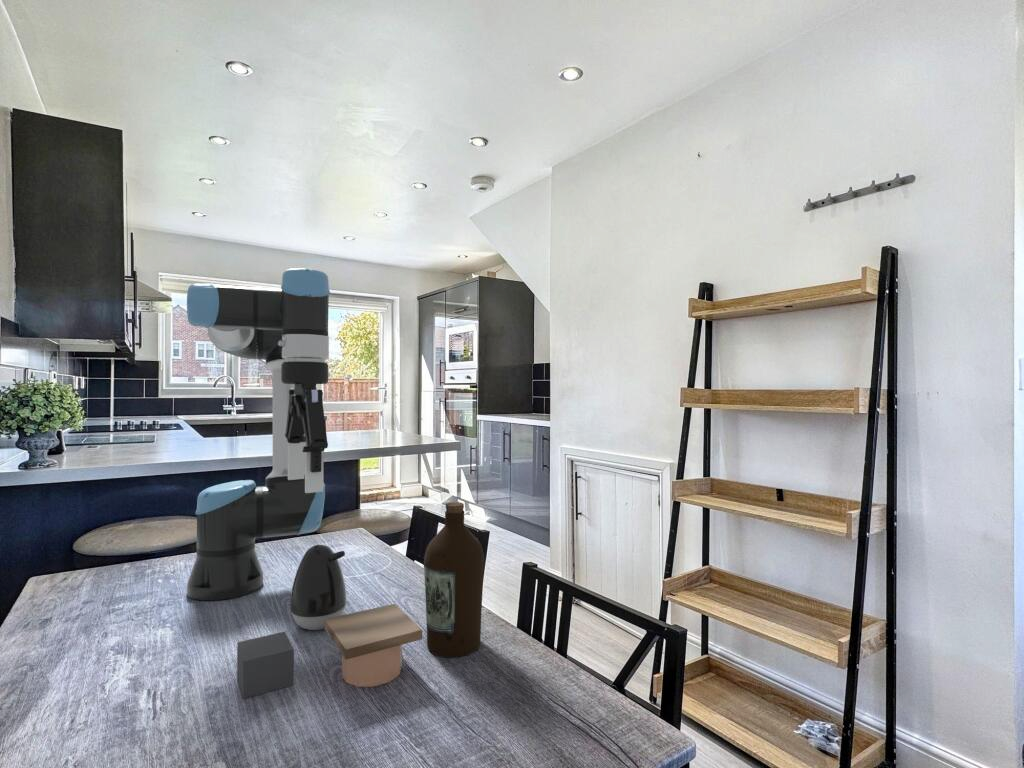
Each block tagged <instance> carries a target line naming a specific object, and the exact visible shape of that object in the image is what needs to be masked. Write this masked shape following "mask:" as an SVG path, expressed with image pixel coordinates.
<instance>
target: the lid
mask: <svg viewBox="0 0 1024 768" xmlns="http://www.w3.org/2000/svg"><path fill="white" fill-rule="evenodd" d="M324 630H325V631H326V633H327V634H328V636H329V637H330V638H331V640H332V642H333V643H334V645H335V646H336V648H337V650H339V652H340V653H341V655H343V656H344V658H345V659H346V660H347V659H350V658H354V657H358V656H362V655H365V654H369V653H373V652H377V651H380V650H384V649H388V648H391V647H395V646H399V645H402V646H403V645H406V644H409V643H414V642H418V641H420V640H423V629H422V628H421V627H420V626H419V625H418V624H417V622H415V621H414V620H413V619H411V618H410V617H409V616H408V614H406V613H405V611H403V610H402V609H401V608H400V607H399V606H398V605H397V604H395V603H392V604H388V605H387V604H386V605H382V606H378V607H374V608H370V609H364V610H359V611H355V612H351V613H347V614H342V615H341V616H337V617H333V618H328V619H325V629H324Z"/></svg>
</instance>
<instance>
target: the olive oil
mask: <svg viewBox="0 0 1024 768" xmlns="http://www.w3.org/2000/svg"><path fill="white" fill-rule="evenodd" d="M464 505H465V504H464V503H463V502H459V501H453V502H452V501H451V502H447V503H446V504H445V511H444V518H445V519H444V522H445V524H444V526H443V527H442V528H441V530H440V531H439V532H438V533H437V534H435V536H434V537H433V538H431V540H430V541H429V543H428V545H427V547H426V549H425V553H424V556H423V557H424V558H423V570H424V572H423V573H424V588H425V589H424V590H425V595H424V596H425V613H426V615H425V616H426V618H425V619H426V646H427V647H426V648H427V649H428V651H430V652H431V653H432V654H434V655H436V656H439V657H445V658H459V657H465V656H468V655H470V654H472V653H474V652H476V651H477V650H479V648H480V646H481V638H482V637H481V636H482V634H481V633H482V611H483V610H482V607H483V605H482V604H483V589H484V574H485V573H484V572H485V553H484V552H485V551H484V550H483V549H484V548H483V546H482V543H481V542H480V541H479V539H478V538H477V537H476V536H475V535H474V534H473V533H472V532H471V530H469V529H468V527H467V526H466V525H465V511H464V507H465V506H464Z"/></svg>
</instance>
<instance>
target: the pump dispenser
mask: <svg viewBox="0 0 1024 768" xmlns="http://www.w3.org/2000/svg"><path fill="white" fill-rule="evenodd" d="M345 556H346V552H345V551H344V550H340V551H337V552H334V551H333V550H332V548H331V547H330V546H328V545H326V544H316V545H313V546H311V547H310V548H308V549H307V551H305V553H304V555H303V556H302V559H301V560H300V562H299V565H298V567H297V570H296V574H295V577H294V580H293V584H292V589H291V593H290V601H289V602H290V603H289V611H290V612H291V614H292V617H293V618H292V619H294V622H295V623H296V624H297V625H298V626H299V627H301V628H302V629H304V630H309V631H320V630H325V619H328V618H333V617H337V616H342V615H343V612H344V610H345V606H346V605H347V591H346V584H345V579H344V574H343V571H342V568H341V565H340V562H339V559H341V558H343V557H345Z"/></svg>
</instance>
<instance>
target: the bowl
mask: <svg viewBox="0 0 1024 768" xmlns="http://www.w3.org/2000/svg"><path fill="white" fill-rule="evenodd" d="M402 647H403V645H399V646H395V647H391V648H388V649H384V650H380V651H377V652H373V653H369V654H365V655H362V656H358V657H354V658H350V659H347V660H346V659H345V658H344V656H343V655H342V654H341V655H342V657H341V660H342V661H341V663H342V665H341V676H342V677H343V679H344V681H345V682H346V683H347V684H348V685H353V686H355V687H357V688H359V687H360V688H363V687H377V686H381V685H384V684H387V683H390V682H391V681H392V680H394V679H396V678H397V677H398V676H400V674H401V671H402V667H403V661H402V660H403V648H402Z"/></svg>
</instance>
